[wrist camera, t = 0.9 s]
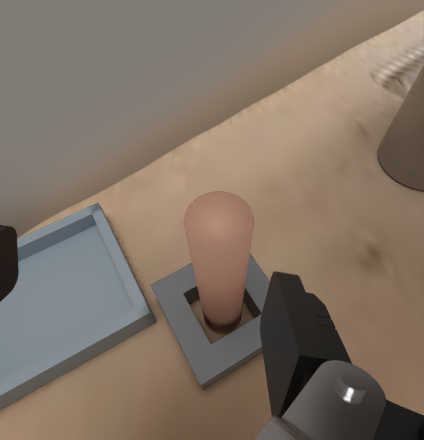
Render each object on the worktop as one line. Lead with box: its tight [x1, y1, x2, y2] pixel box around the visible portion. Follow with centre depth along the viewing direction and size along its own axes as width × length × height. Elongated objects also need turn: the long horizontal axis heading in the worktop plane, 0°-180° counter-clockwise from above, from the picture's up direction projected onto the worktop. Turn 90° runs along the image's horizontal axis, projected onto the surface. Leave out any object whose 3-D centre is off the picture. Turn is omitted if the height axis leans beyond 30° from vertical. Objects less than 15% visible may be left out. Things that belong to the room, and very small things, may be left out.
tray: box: [0, 203, 157, 410], centre depth 31 cm, size 15×13×3 cm
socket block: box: [151, 253, 270, 389], centre depth 30 cm, size 9×9×4 cm
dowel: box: [184, 191, 254, 334], centre depth 24 cm, size 3×3×17 cm
